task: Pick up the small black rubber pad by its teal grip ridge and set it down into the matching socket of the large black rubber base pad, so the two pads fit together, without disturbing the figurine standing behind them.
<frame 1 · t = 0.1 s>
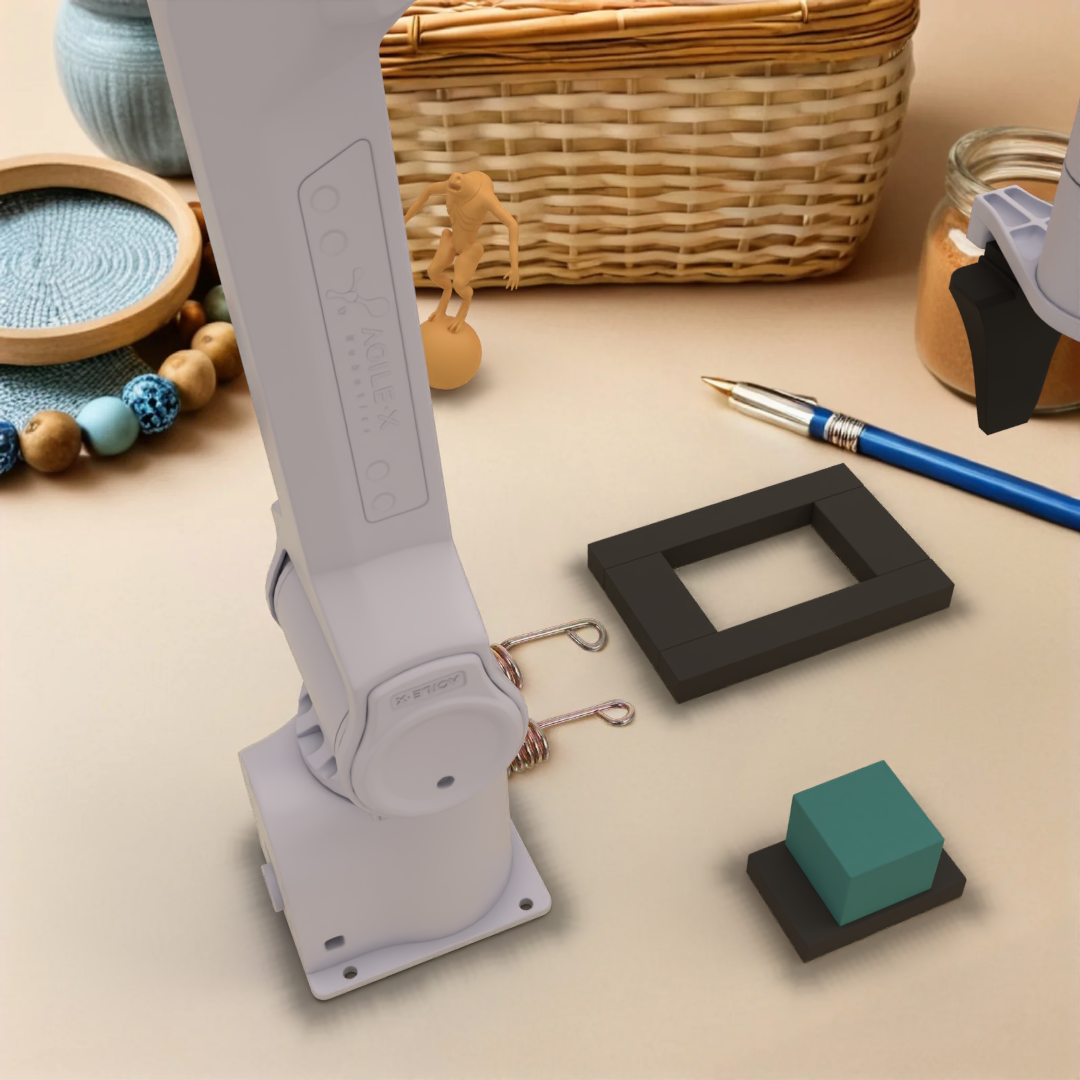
hand: (1061, 479, 58), 10 cm above the table, tool pointing down, fingers open, 7 cm apart
base pad: (765, 586, 68), on the table
figurine: (460, 376, 80), on the table
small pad: (852, 884, 56), on the table
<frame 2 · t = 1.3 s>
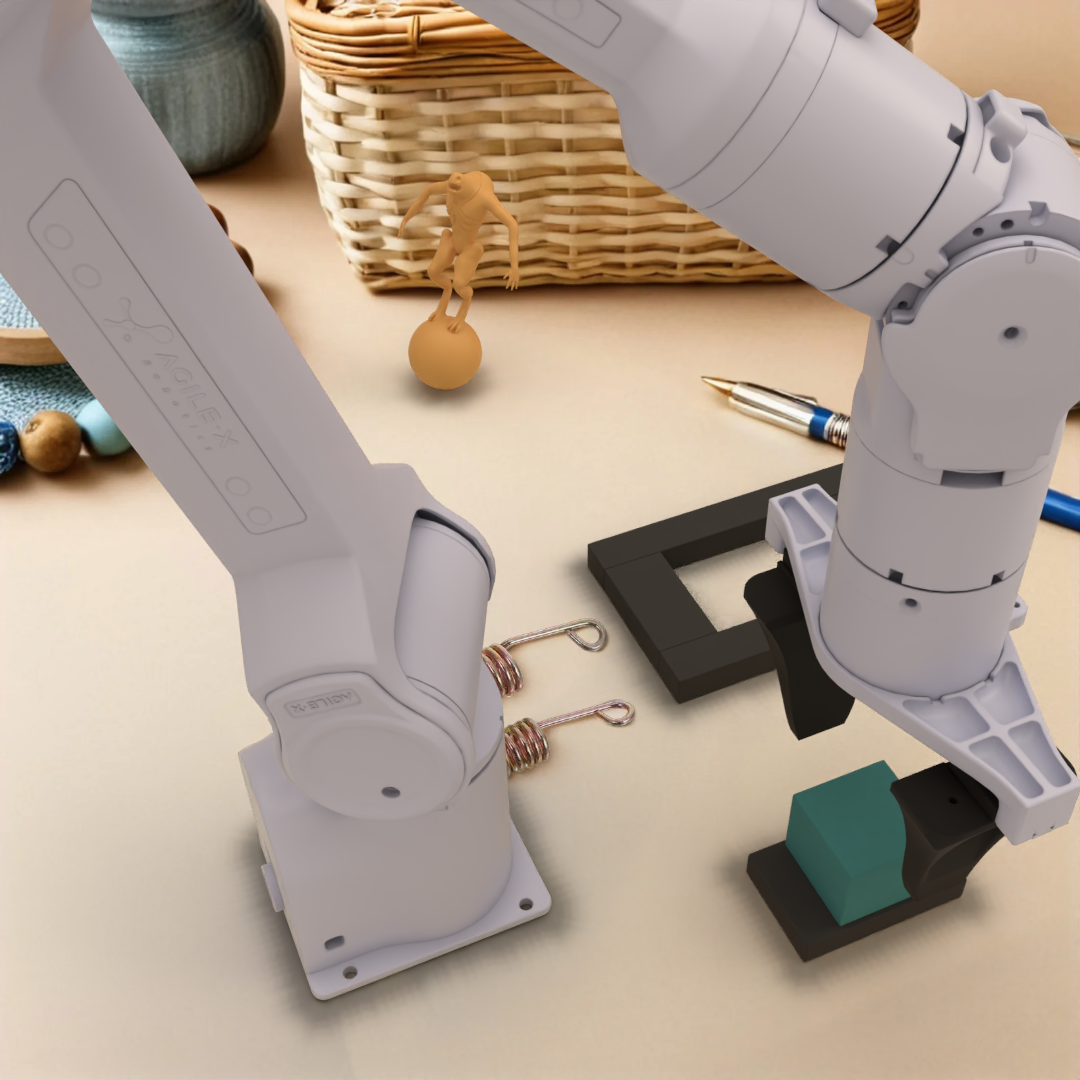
hand: (872, 801, 52), 5 cm above the table, tool pointing down, fingers open, 7 cm apart
nothing on the table moved.
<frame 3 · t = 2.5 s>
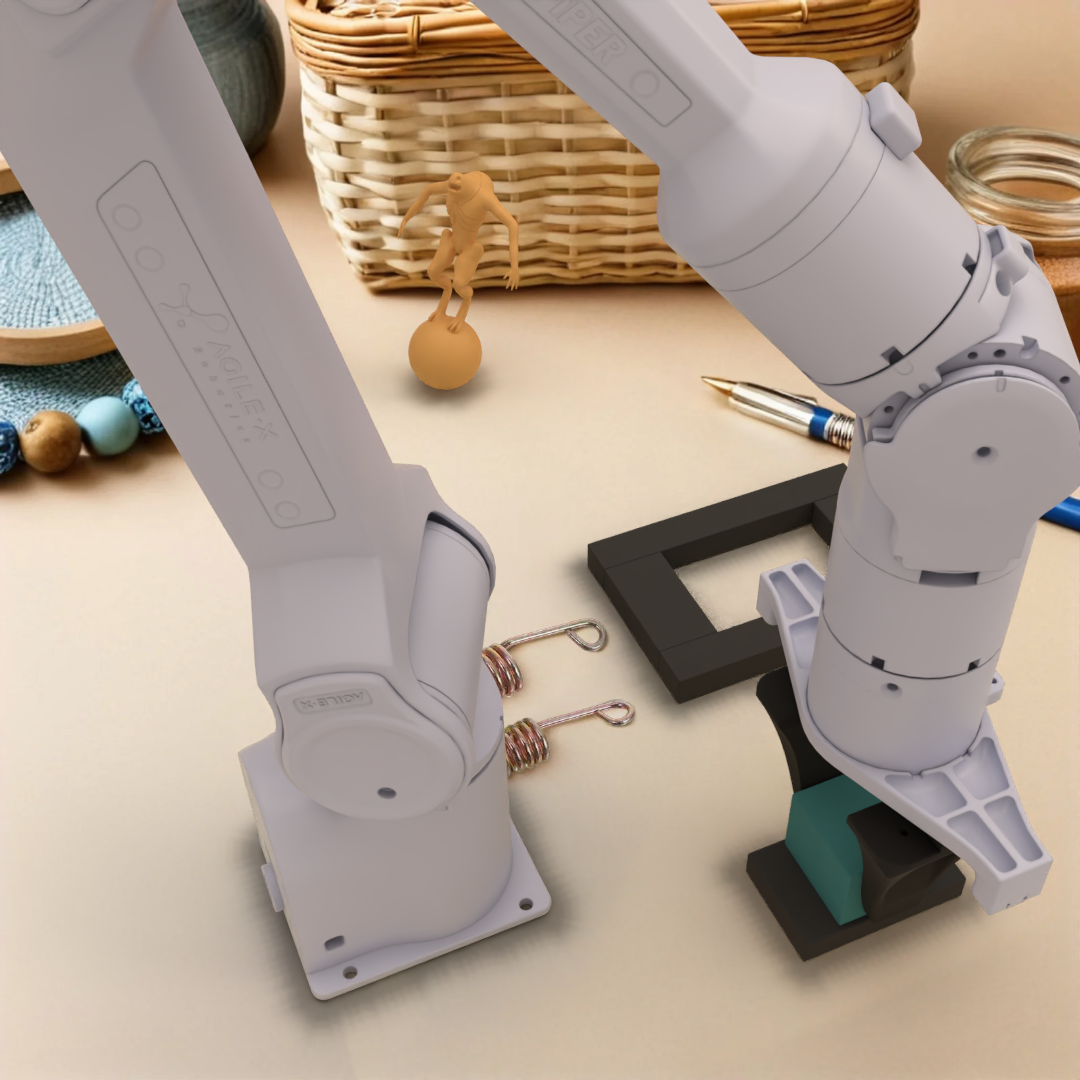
hand: (858, 860, 55), 2 cm above the table, tool pointing down, fingers closed on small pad, 4 cm apart
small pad: (852, 883, 56), on the table, touching gripper
everything else where it was.
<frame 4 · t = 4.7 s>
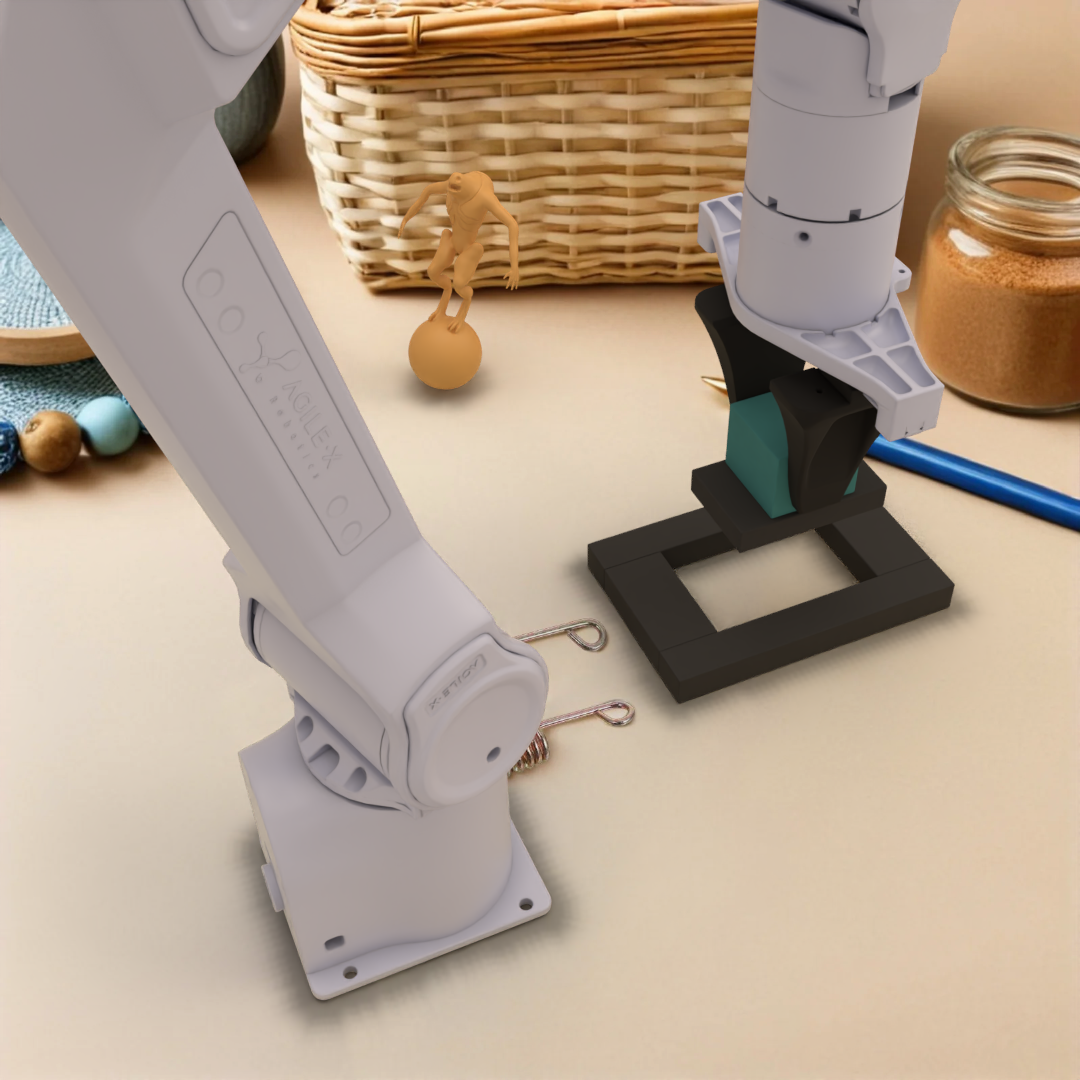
hand: (788, 470, 61), 8 cm above the table, tool pointing down, fingers closed on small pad, 4 cm apart
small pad: (786, 498, 62), point 7 cm above the table, touching gripper
everything else where it was.
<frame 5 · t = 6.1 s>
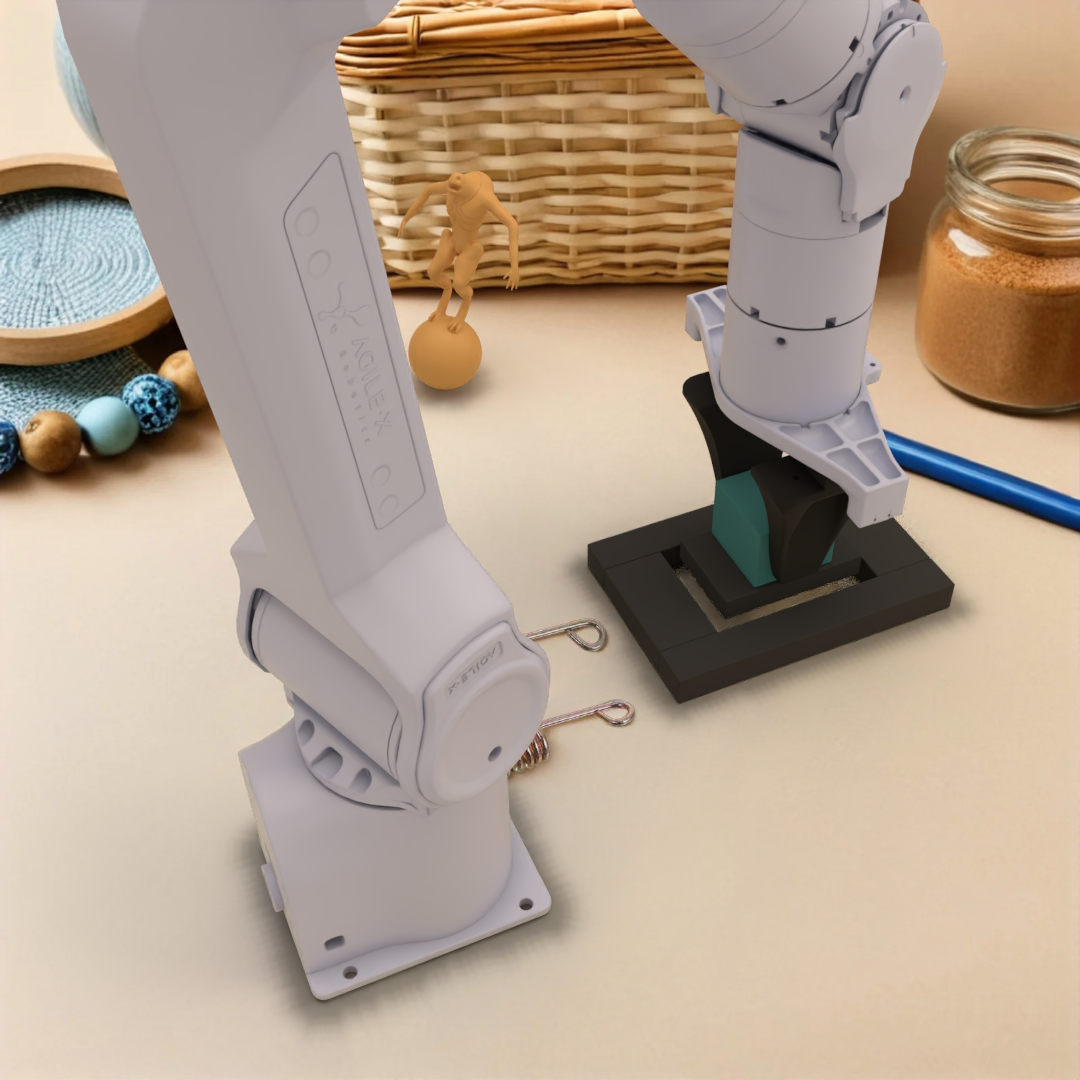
hand: (770, 541, 66), 3 cm above the table, tool pointing down, fingers closed on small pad, 4 cm apart
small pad: (768, 565, 67), point 1 cm above the table, touching gripper
everything else where it was.
when the fingers open (2 cm above the table, at t = 6.9 s): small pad stays where it is, resting in base pad.
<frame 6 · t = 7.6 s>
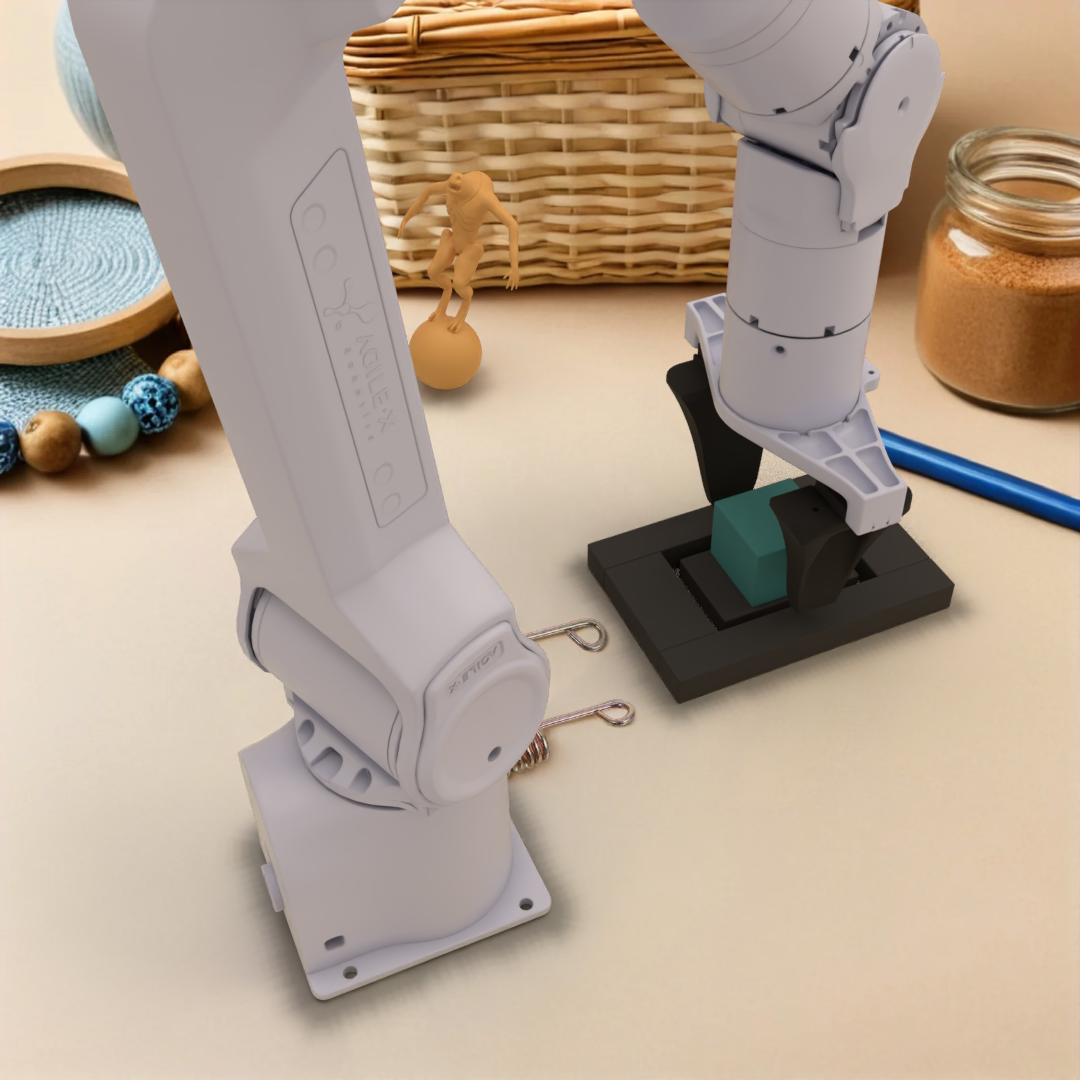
hand: (769, 548, 66), 2 cm above the table, tool pointing down, fingers open, 7 cm apart
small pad: (766, 585, 68), resting in base pad
everything else where it was.
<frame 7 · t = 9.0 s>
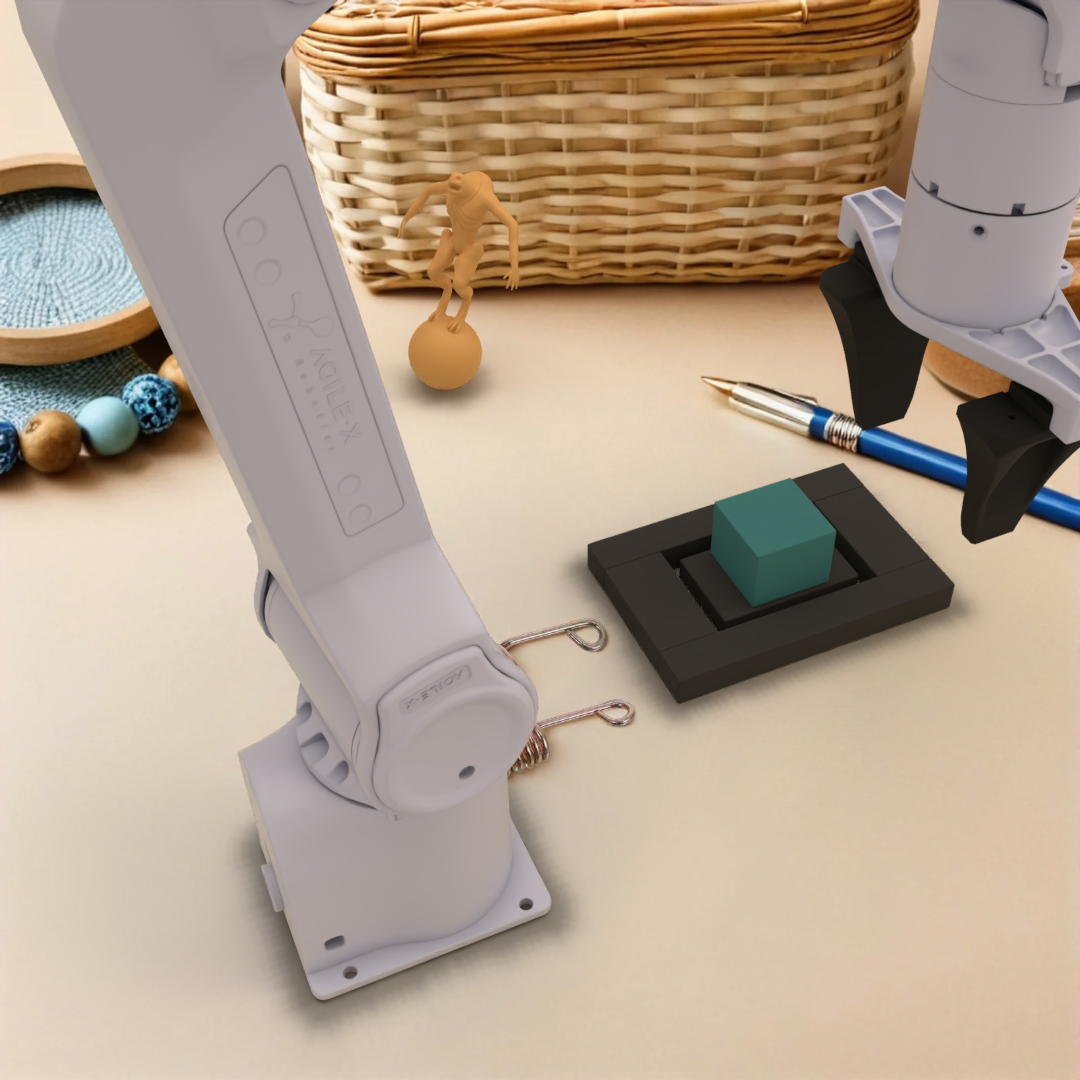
hand: (931, 474, 59), 9 cm above the table, tool pointing down, fingers open, 7 cm apart
nothing on the table moved.
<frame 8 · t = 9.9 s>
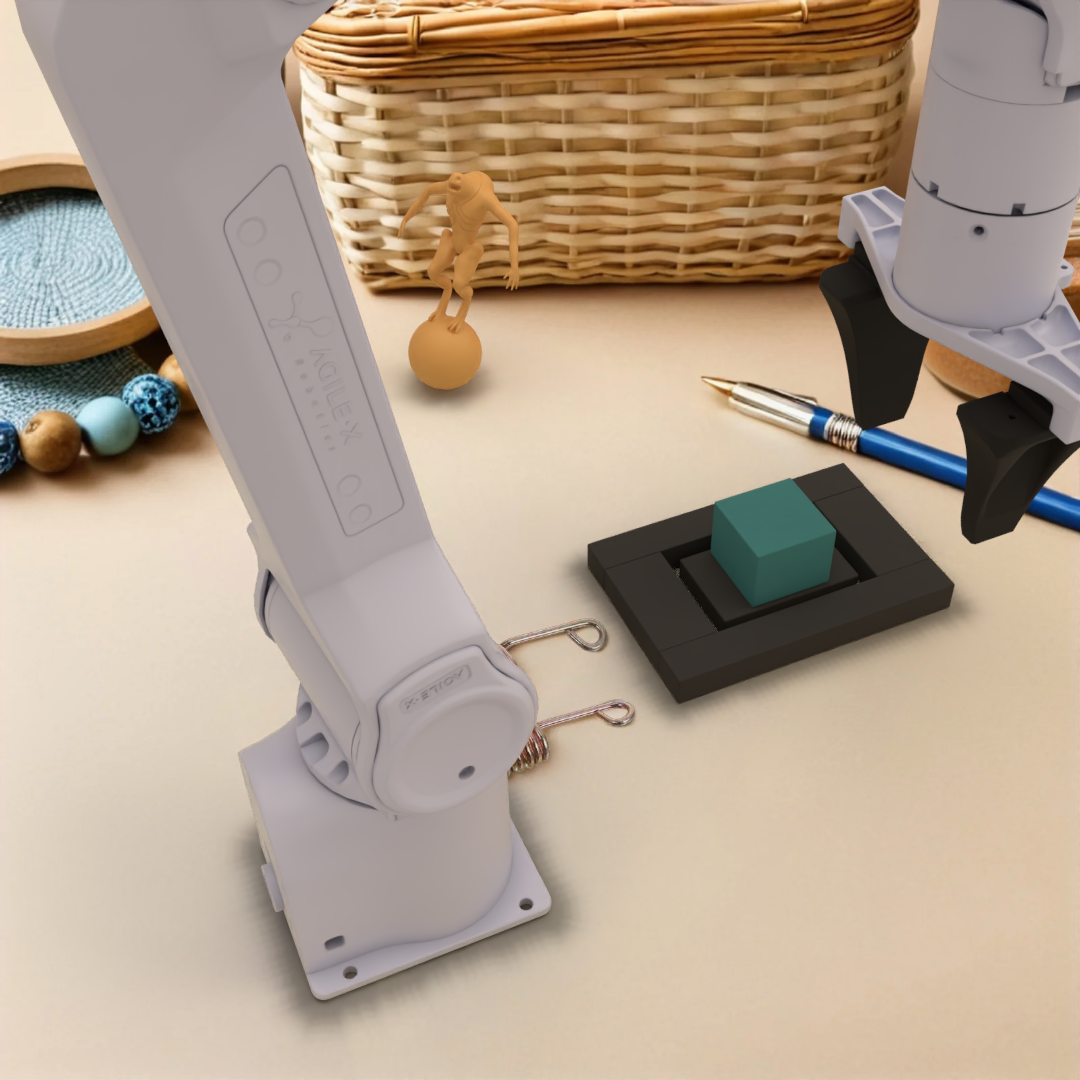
hand: (931, 474, 59), 9 cm above the table, tool pointing down, fingers open, 7 cm apart
nothing on the table moved.
at the end: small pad 0.1 cm off-centre on the base pad, point 0.0 cm above the base pad's base; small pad tilted 0°; figurine moved 0.2 cm from its start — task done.
